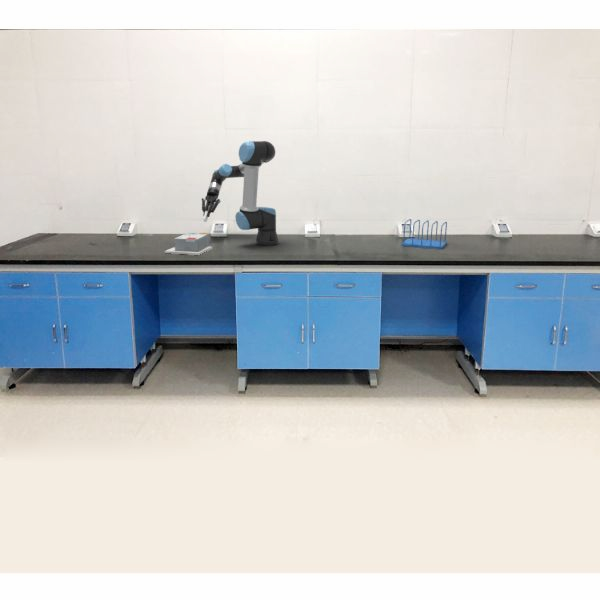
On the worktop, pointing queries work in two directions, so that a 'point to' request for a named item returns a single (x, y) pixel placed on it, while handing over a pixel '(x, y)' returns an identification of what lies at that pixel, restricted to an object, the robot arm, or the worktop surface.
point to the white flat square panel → (188, 251)
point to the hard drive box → (192, 242)
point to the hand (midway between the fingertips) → (204, 220)
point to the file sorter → (422, 242)
